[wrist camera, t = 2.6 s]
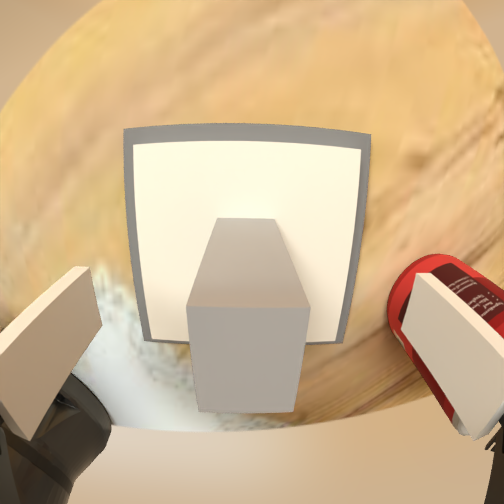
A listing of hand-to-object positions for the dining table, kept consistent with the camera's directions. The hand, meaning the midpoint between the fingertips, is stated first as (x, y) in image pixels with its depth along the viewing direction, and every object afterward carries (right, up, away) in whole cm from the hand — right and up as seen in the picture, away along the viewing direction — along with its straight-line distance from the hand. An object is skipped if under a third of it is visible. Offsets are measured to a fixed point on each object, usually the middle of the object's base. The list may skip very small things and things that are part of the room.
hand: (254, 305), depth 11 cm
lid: (0, +2, +6) cm, 7 cm away
